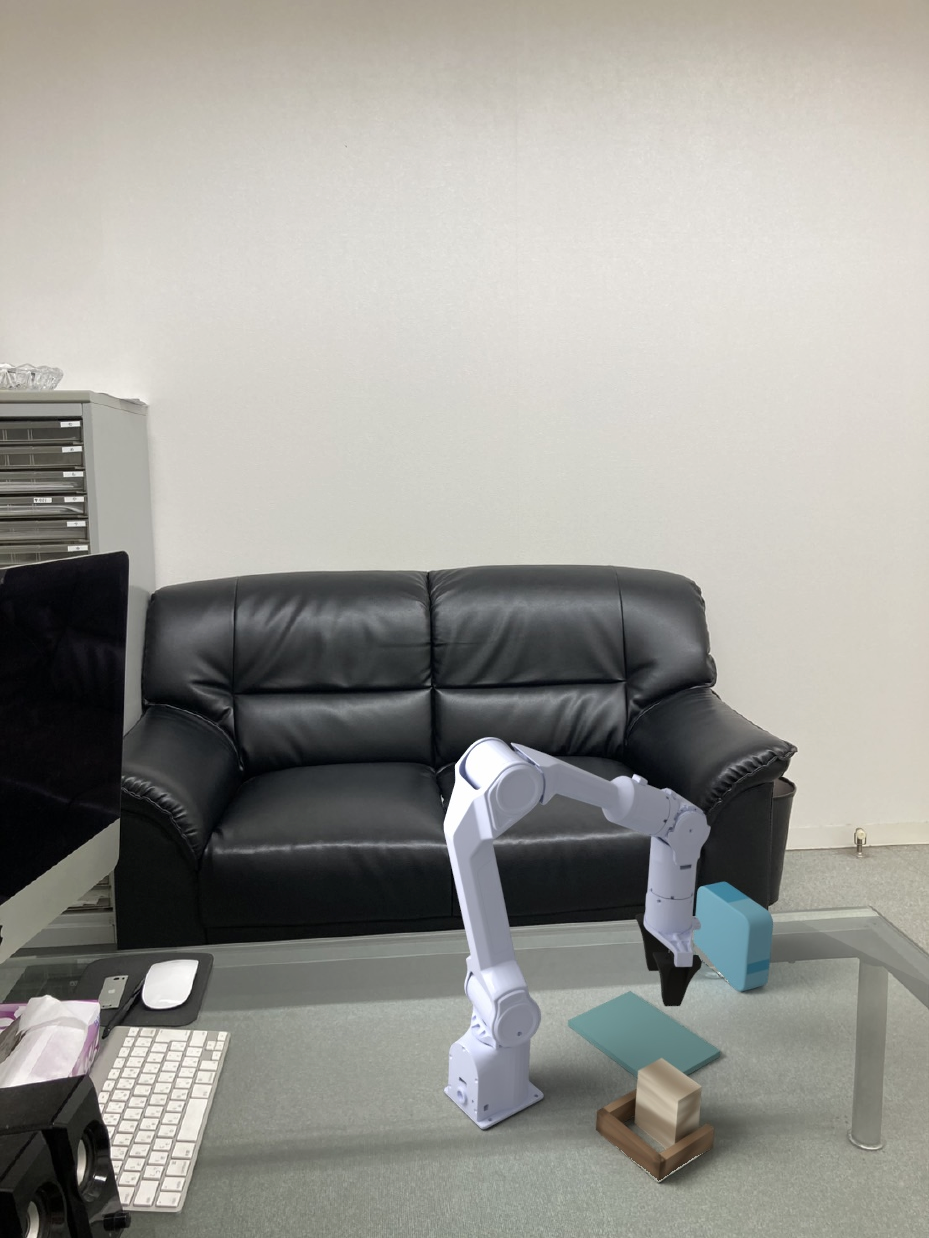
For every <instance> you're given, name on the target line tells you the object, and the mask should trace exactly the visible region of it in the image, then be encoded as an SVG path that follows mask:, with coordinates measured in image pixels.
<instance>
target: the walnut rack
mask: <svg viewBox="0 0 929 1238" xmlns="http://www.w3.org/2000/svg"><path fill="white" fill-rule="evenodd" d="M636 1094H637V1088H635V1089H633V1090H632V1091H629V1092H627V1094H625V1095H623V1096H621V1097H619V1098H617V1099H616V1100H613V1101H611V1102H610V1103H609V1104H607V1105H605V1106H603V1107H602V1108H600V1109H597V1111H596V1121H595V1131H597V1132H598V1133H599V1134H600V1135H601V1136H602V1137H603V1138H605V1140H607V1141H609V1143H611V1144H612V1143H613V1144H614V1145H616V1146H617V1147H618V1148H619V1149H620V1150H622V1151H623V1152H624V1153H625V1154H626V1155H627V1156H628V1157H630V1158H632V1160H633V1161H635V1162H636V1163H637V1164H639V1165H640V1166H642V1167H643V1168H644V1169H646V1171H648V1172H650V1174H651V1175H652V1176H654V1177H655V1178H657V1180H658V1181H659V1180H661V1179H663V1178H664V1177H665V1176H667V1175H669V1174H670V1173H671V1172H672V1171H674V1170H676V1169H677V1168H678V1167H680V1166H682V1165H683V1164H685V1163H687V1162H688V1161H689V1160H691V1159H692V1158H694V1157H695V1156H698V1155H700V1154H702V1153H704V1152H705V1151H707V1150H708V1151H710V1150H712V1149H713V1148H714V1138H715V1137H714V1135H715V1128H714V1127H713V1126H712V1125H711V1124H710V1123H708V1122H707V1123H705V1124H704V1125H702V1126H701V1127H698V1129H697V1130H696V1131H694V1132H693V1133H691V1134H690V1135H688V1136H686V1137H685V1138H683V1139H682V1140H680V1141H679V1142H677V1143H675V1144H674V1145H672V1146H671V1147H669V1148H668V1149H664V1150H663V1151H661V1152H660V1153H659V1152H658V1151H657V1150H655V1149H654V1148H653V1147H652V1146H651V1145H650V1144H649V1143H647V1142H646V1141H645V1140H643V1139H642V1138H641V1137H639V1136H638V1135H637V1134H636V1133H635V1132H634V1131H633V1130H631V1129H630V1128H629V1127H627V1126H626V1125H625V1124H624V1123H625V1122H627V1121H629V1120H630V1119H632V1118H635V1108H636ZM613 1144H612V1145H613ZM614 1145H613V1146H614ZM618 1148H617V1149H618ZM619 1149H618V1150H619ZM709 1149H710V1150H709ZM620 1150H619V1151H620ZM708 1151H707V1152H708ZM705 1153H706V1152H705ZM705 1153H704V1154H705ZM625 1154H624V1155H625ZM626 1155H625V1156H626ZM702 1155H703V1154H702ZM627 1156H626V1157H627ZM628 1157H627V1158H628ZM632 1160H631V1161H632ZM633 1161H632V1162H633Z"/></svg>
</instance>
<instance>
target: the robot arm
mask: <svg viewBox="0 0 929 1238" xmlns="http://www.w3.org/2000/svg"><path fill="white" fill-rule="evenodd" d="M510 744H511V746H512V747H513V749H514V750H513V749H511V747H510V746H509V745H508V744H507V743H506V742H505V741H503V740H502V739H500V738H498V737H491V736H490V737H483V738H480V739H477V740H476V741H475V742H473V744H471V745H470V746H469V747H468V748H467V750H466V751H465V752H464V753H463V754H462V756H461V757H460V759H459V760H458V761H457V763H455V766H454V769H455V770H454V771H455V776H454V777H455V781H454V782H455V783H454V787H453V789H452V792H451V793H452V794H451V797H450V800H449V802H448V803H449V804H448V806H447V811H446V814H445V818H444V821H443V831H444V832H443V833H444V838H445V840H446V841H445V842H446V847H447V852H448V855H449V861H450V865H451V869H452V874H453V878H454V884H455V889H456V893H457V899H458V902H459V906H460V910H461V911H460V913H461V917H462V921H463V925H464V930H465V934H466V939H467V944H468V949H469V953H470V955H468V957H466V959H465V963H466V968H467V970H466V975H465V979H464V984H463V985H464V992H465V995H466V997H467V999H468V1001H469V1002H471V1003H472V1015H471V1020H470V1026H469V1027H468V1030H467V1031H465V1033H464V1035H462V1036H461V1037H460V1038H459V1039H458V1040H456V1041H455V1042H453V1043H452V1044H451V1046H450V1048H449V1051H448V1052H449V1053H448V1076H447V1077H448V1081H447V1083H448V1085H447V1086H445V1087H444V1094H446V1096H448V1098H450V1099H451V1101H453V1102H454V1103H455V1105H456V1106H458V1107H459V1108H460V1109H461V1111H463V1113H465V1114H466V1116H467V1117H468V1118H470V1119H471V1120H472V1121H473V1122H474V1123H475V1125H477V1127H479V1128H480V1129H482V1130H486V1129H488V1128H490V1127H492V1126H493V1125H496V1124H497V1123H500V1122H501V1121H503V1120H505V1119H507V1118H509V1117H511V1116H512V1115H514V1114H517V1113H518V1112H520V1111H522V1110H525V1109H526V1108H527V1107H530V1106H531V1105H534V1104H536V1103H537V1102H539V1101H541V1100H543V1099H544V1093H543V1092H542V1091H541V1090H540V1089H539V1088H537V1087H536V1086H535V1085H534V1084H533V1083H532V1082H531V1081H530V1059H531V1057H530V1056H531V1039H532V1038H533V1037H534V1036H535V1035H536V1032H537V1031H538V1030H539V1028H540V1025H541V1020H542V1012H541V1008H540V1006H539V1005H538V1002H536V1001H535V999H533V998H532V996H531V994H530V992H529V988H528V987H529V986H528V984H527V982H526V979H525V977H524V974H523V972H522V969H521V968H520V966H519V963H518V962H517V961H518V960H517V957H516V954H515V949H514V942H513V938H512V932H511V928H510V923H509V919H508V913H507V909H506V902H505V899H504V897H505V896H504V892H503V887H502V883H501V877H500V874H499V868H498V864H497V858H496V853H495V848H494V840H495V839H497V838H498V837H500V836H501V835H502V834H504V833H505V832H506V831H507V830H509V828H511V827H513V825H515V824H516V823H517V822H519V821H520V820H521V819H522V818H524V817H525V816H526V815H527V814H528V813H530V812H531V811H532V810H533V809H534V808H535V807H536V806H537V804H538V803H539V804H541V805H542V806H545V805H547V804H548V802H549V801H550V800H551V799H552V798H553V797H554V796H555V795H560V796H563V797H566V798H570V799H573V800H575V801H580V802H583V803H586V804H589V805H593V806H595V807H597V808H601V811H602V813H603V815H604V817H605V818H606V820H607V821H608V822H610V823H612V824H615V825H618V826H621V827H623V828H627V829H629V830H632V831H635V832H638V833H641V834H643V835H646V836H647V837H648V836H649V837H651V838H650V850H649V851H650V854H649V863H648V864H649V866H648V879H647V892H646V894H645V912H644V913H637V914H636V915H635V920H636V922H637V925H638V927H639V929H640V930H639V931H640V933H641V938H642V943H643V949H644V956H645V962H646V968H647V970H648V972H658V973H659V979H660V994H661V1001H662V1004H663V1006H664V1007H680V1006H681V1005H682V1003H683V1001H684V1000H683V999H684V997H685V995H686V992H687V989H688V987H689V984H690V982H691V981H692V980H693V977H695V975H696V973H698V971H700V969H701V968H702V963H703V962H702V961H701V959H700V957H699V955H696V954H694V950H693V948H692V942H693V934H694V933H693V932H694V930H698V929H700V928H701V923H700V921H699V919H698V918H697V917H696V916H693V915H694V914H693V910H694V899H695V889H696V888H695V887H696V878H697V877H696V875H697V863H698V860H699V859H700V857H701V850H702V847H703V845H704V844H705V843H706V841H707V840H708V839H709V835H710V832H711V826H710V825H709V824H708V822H707V815H706V814H705V813H704V811H703V810H702V809H701V808H700V807H699V806H697V805H695V804H693V803H692V802H691V801H689V800H688V799H686V798H685V797H683V796H681V795H680V794H679V793H676V792H675V791H674V790H672V788H668V787H666V788H662V789H660V788H657V787H654V786H652V785H649V784H648V780H647V779H646V778H644V777H643V776H641V775H638V774H635V773H634V774H633V776H632V778H631V777H629V776H627V775H620V776H617V777H615V778H613V779H612V780H610V781H609V780H607V779H606V778H603V777H601V776H598V775H595V774H594V773H591V772H589V771H587V770H584V769H582V768H579V767H578V766H575V765H573V764H570V763H569V762H565V761H564V760H561V759H559V758H557V757H555V756H552V755H549V754H547V753H545V752H541V751H538V750H536V749H533V748H530V747H528V746H526V745H523V744H518V743H514V742H511V743H510Z"/></svg>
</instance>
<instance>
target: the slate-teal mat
mask: <svg viewBox="0 0 929 1238" xmlns="http://www.w3.org/2000/svg"><path fill="white" fill-rule="evenodd" d="M567 1026H568V1027H569V1028H570V1029H572V1030H573V1031H575V1032H576V1033H577V1034H578V1035H580V1036H581V1037H583V1038H584V1039H585V1040H586V1041H588V1043H591V1045H593V1046H594V1047H595V1048H597V1049H598V1050H600V1052H602V1053H603V1054H605V1055H606V1056H608V1057H609V1058H610V1059H612V1060H613V1061H614V1062H616V1063H617V1064H618V1065H619V1066H620V1067H622V1068H623V1069H625V1070H626V1071H627V1072H629V1074H631V1075H633V1077H635V1078H636V1079H638V1071H639V1070H640V1069H642V1068H644V1067H646V1066H648V1065H650V1064H651V1063H653V1062H655V1061H657V1060H659V1059H661V1058H663V1059H664V1060H665V1061H667V1062H668V1063H670V1064H671V1065H672V1066H674V1067H675V1068H677V1069H678V1070H679V1071H681V1072H682V1073H684V1074H685V1075H686V1076H689V1075H690V1074H692V1073H693V1072H695V1071H697V1070H699V1069H701V1068H702V1067H705V1066H706V1065H707V1064H709V1063H710V1062H713V1061H714V1060H716V1059H718V1058H719V1057H721V1050H720V1049H719V1048H717V1047H715V1046H714V1045H712V1044H711V1043H709V1042H708V1041H706V1040H705V1039H704V1038H702V1037H700V1036H699V1035H697V1034H696V1033H694V1032H693V1031H692V1030H690V1029H688V1028H687V1027H686V1026H685V1025H682V1024H681V1023H679V1022H678V1021H676V1019H673V1018H672V1017H670V1016H669V1015H668V1014H666V1013H664V1012H663V1011H661V1010H660V1009H658V1008H657V1007H655V1006H654V1005H653V1004H651V1003H650V1002H648V1001H646V1000H645V999H643V997H640V996H639V995H637V994H636V993H634V992H633V991H631V990H629V991H627V992H625V993H623V994H621V995H619V996H616V997H615V998H612V999H610V1000H608V1001H606V1002H604V1003H602V1004H600V1005H598V1006H597V1005H596V1007H593V1008H591V1009H588V1010H587V1011H585V1012H583V1013H580V1014H579V1015H576V1016H574V1017H572V1018H570V1019H568V1021H567Z"/></svg>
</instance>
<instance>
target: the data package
mask: <svg viewBox="0 0 929 1238" xmlns="http://www.w3.org/2000/svg"><path fill="white" fill-rule="evenodd" d="M696 893H697V894H696V903H695V904H696V905H695V906H696V907H695V917H697V918H698V919H699V921H700V923H701V928H700V929H698V930H693V932H694V933H693V943H695V945H697V947H698V948H700V949H701V951H703V953H705V955H707V957H708V959H710V961H711V962H712V964H714V966H715V968H716V969H718V971H719V972H720V973H721V974H722V975H723V976H724V977H725V978H726V980H728V982H729V983H728V985H730V987H732V988H734V989H735V990H736V991H737V992H746V991H749V990H752V989H755V988H759V987H764V986H766V985H767V983H768V980H769V971H770V963H771V962H770V961H771V953H772V952H771V951H772V939H773V930H774V920H773V917H772V914H771V913H770V911H769V910H768V909H766V908H765V907H763V906H762V905H761V904H759V903H757V902H756V901H754V900H753V899H752V898H751V897H749V896H748V895H746V894H745V893H743V892H741V890H739V889H737V888H735V886H733V885H731V884H730V883H729V882H726V881H720V882H715V883H712V884H706V885H703V886H700V887H699V888H698V889H697V892H696Z"/></svg>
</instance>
